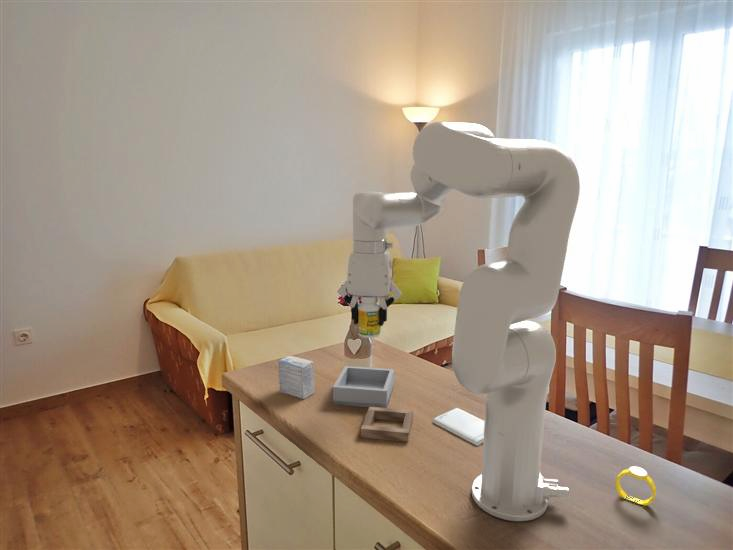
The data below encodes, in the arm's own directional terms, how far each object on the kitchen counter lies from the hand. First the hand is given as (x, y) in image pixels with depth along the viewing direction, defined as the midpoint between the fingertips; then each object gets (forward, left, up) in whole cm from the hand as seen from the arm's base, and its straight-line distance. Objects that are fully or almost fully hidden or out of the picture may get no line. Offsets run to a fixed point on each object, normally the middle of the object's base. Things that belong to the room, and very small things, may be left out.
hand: (369, 322), depth 120 cm
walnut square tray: (-6, +11, -20) cm, 24 cm away
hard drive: (-23, +8, -21) cm, 32 cm away
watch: (-51, +28, -20) cm, 62 cm away
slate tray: (+2, -4, -20) cm, 20 cm away
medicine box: (+19, -2, -20) cm, 28 cm away
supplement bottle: (0, 0, -3) cm, 3 cm away
